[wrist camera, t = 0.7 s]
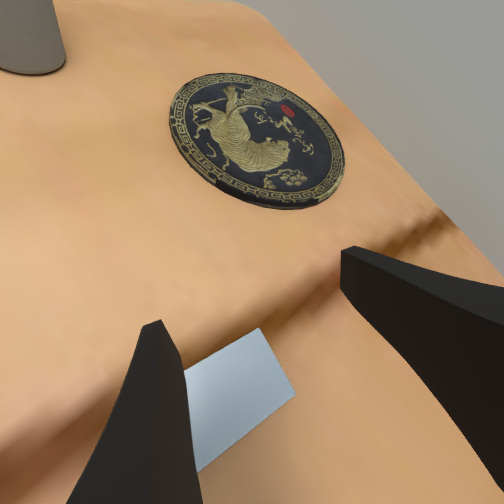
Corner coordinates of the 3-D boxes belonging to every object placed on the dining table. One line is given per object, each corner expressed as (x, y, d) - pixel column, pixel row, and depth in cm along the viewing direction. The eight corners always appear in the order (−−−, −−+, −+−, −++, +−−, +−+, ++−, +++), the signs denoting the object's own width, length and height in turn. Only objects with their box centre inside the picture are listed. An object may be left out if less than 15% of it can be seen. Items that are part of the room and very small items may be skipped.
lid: (287, 394, 27) (296, 393, 26) (174, 483, 21) (176, 489, 20) (252, 331, 29) (258, 327, 27) (140, 397, 23) (139, 396, 22)
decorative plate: (282, 68, 55) (378, 176, 47) (279, 78, 57) (371, 184, 49) (134, 74, 40) (236, 232, 32) (135, 86, 42) (233, 240, 34)
